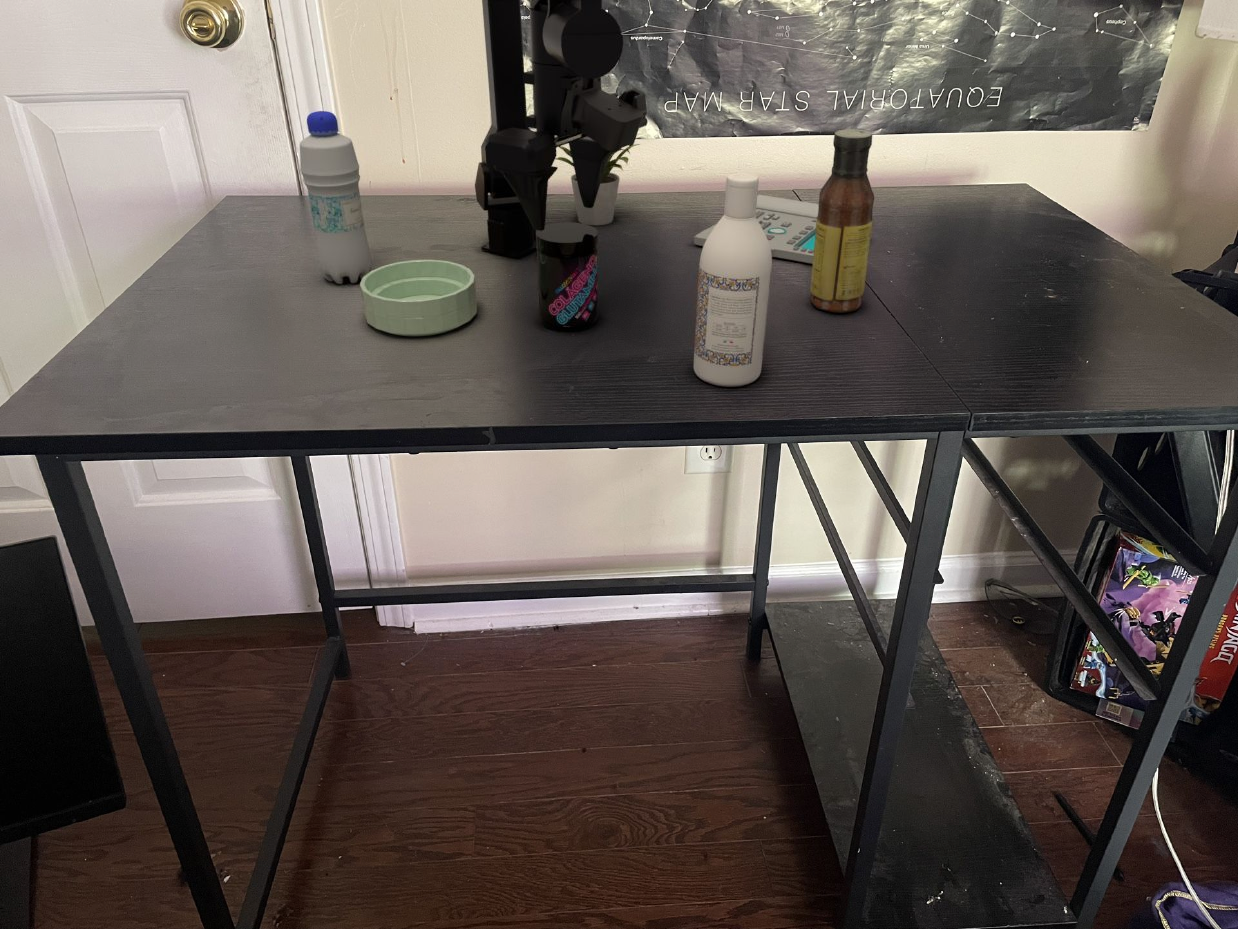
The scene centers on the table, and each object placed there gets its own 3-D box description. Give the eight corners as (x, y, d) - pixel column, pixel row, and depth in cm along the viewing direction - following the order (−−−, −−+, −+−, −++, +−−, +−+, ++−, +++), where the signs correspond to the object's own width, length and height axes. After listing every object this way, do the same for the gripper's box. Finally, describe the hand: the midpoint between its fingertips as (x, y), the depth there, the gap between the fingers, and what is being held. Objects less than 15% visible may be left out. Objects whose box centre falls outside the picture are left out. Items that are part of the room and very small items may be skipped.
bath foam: (718, 352, 97) (732, 162, 86) (773, 371, 93) (795, 175, 82) (679, 374, 92) (689, 177, 81) (735, 396, 89) (754, 192, 78)
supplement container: (535, 332, 101) (531, 241, 95) (543, 308, 106) (540, 221, 101) (595, 334, 100) (595, 243, 95) (600, 310, 106) (600, 223, 100)
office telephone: (759, 187, 140) (886, 207, 132) (757, 204, 142) (883, 225, 133) (694, 226, 123) (835, 252, 115) (693, 245, 125) (832, 272, 116)
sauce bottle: (864, 298, 110) (892, 128, 99) (858, 318, 105) (887, 141, 94) (810, 291, 111) (832, 123, 100) (801, 310, 106) (823, 136, 96)
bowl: (418, 287, 111) (414, 252, 109) (499, 309, 106) (496, 273, 103) (342, 323, 102) (336, 285, 100) (426, 349, 97) (422, 310, 94)
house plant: (669, 216, 136) (674, 101, 127) (620, 242, 126) (621, 119, 117) (590, 200, 142) (589, 90, 133) (538, 223, 132) (533, 106, 123)
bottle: (361, 289, 111) (334, 119, 100) (310, 285, 112) (278, 115, 101) (383, 270, 116) (360, 106, 105) (335, 266, 117) (307, 103, 106)
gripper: (574, 84, 78) (577, 258, 86) (678, 55, 91) (672, 208, 100) (474, 71, 83) (487, 237, 91) (587, 46, 96) (588, 192, 105)
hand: (564, 218), depth 97 cm, fingers open, 9 cm apart
